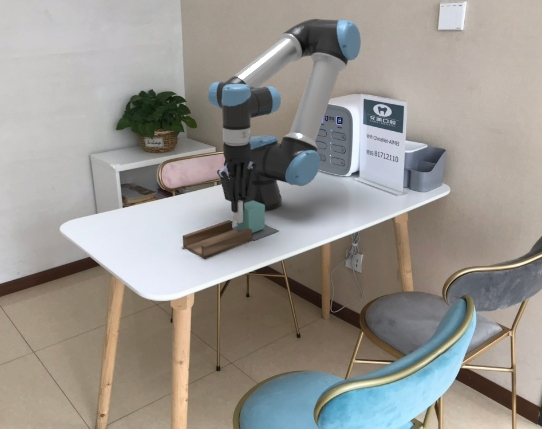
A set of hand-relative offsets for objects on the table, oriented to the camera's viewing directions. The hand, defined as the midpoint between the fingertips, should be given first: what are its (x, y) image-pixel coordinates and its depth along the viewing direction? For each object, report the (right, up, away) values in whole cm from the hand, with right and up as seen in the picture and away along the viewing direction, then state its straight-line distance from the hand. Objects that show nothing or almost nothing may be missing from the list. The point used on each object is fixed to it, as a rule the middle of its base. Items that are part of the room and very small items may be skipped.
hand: (238, 221), depth 156 cm
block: (+4, -3, +5) cm, 7 cm away
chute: (-6, -6, -3) cm, 9 cm away
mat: (+5, -3, +6) cm, 8 cm away
